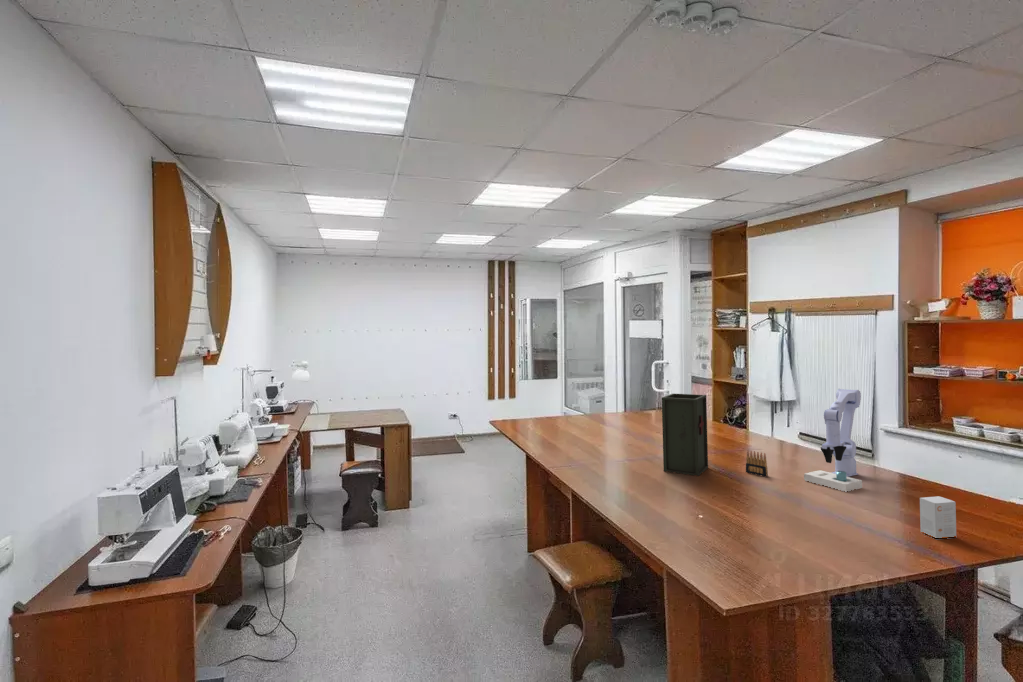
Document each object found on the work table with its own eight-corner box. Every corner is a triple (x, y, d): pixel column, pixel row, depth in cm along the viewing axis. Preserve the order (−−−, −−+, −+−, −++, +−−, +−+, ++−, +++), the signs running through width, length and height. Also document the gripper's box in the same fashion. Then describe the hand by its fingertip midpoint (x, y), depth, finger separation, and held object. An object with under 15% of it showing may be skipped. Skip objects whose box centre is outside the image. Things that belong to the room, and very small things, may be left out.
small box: (939, 531, 182) (939, 495, 182) (957, 538, 176) (956, 501, 176) (919, 532, 181) (919, 497, 181) (936, 539, 175) (935, 503, 175)
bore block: (820, 477, 250) (819, 470, 250) (862, 487, 231) (861, 480, 231) (804, 480, 245) (804, 473, 245) (845, 492, 227) (845, 484, 226)
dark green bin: (674, 463, 284) (672, 393, 283) (708, 467, 273) (706, 395, 272) (663, 471, 269) (661, 397, 268) (698, 476, 258) (696, 399, 257)
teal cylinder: (839, 484, 237) (839, 470, 237) (848, 487, 233) (848, 472, 233) (834, 486, 235) (834, 471, 235) (843, 488, 231) (843, 473, 231)
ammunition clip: (767, 476, 254) (767, 452, 254) (766, 476, 253) (765, 453, 253) (747, 471, 263) (746, 449, 262) (745, 472, 262) (745, 449, 261)
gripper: (831, 437, 236) (832, 465, 236) (850, 433, 242) (851, 461, 242) (817, 434, 243) (817, 462, 243) (836, 431, 249) (836, 458, 249)
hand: (833, 461), depth 243 cm, fingers open, 7 cm apart
